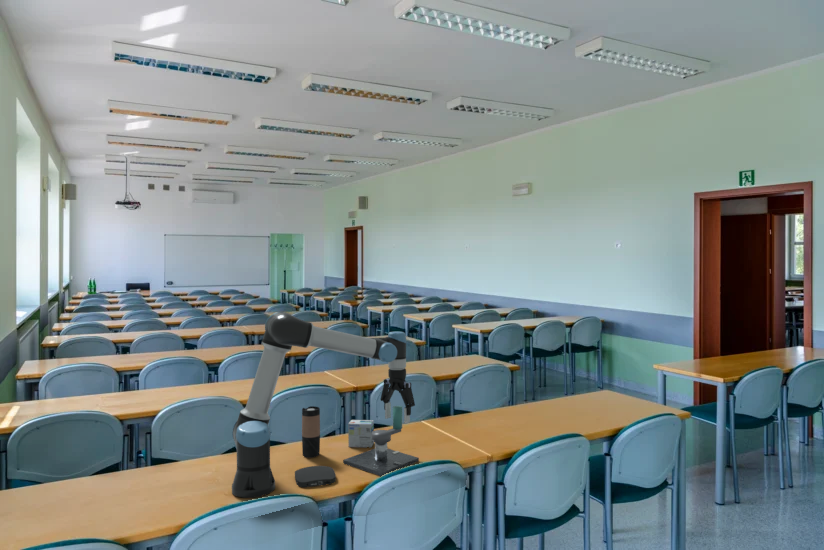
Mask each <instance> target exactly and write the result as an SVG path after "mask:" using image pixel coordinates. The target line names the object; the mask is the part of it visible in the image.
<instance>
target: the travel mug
mask: <svg viewBox="0 0 824 550" xmlns="http://www.w3.org/2000/svg"><path fill="white" fill-rule="evenodd" d="M320 410H321V409H320V407H319V406H314V405H313V406H310V405H309V406H308V407H302V409H301V441H302V442H301V445H302V448H301V449H302V457H303V456H304V458H306V459H311V458H316V457H317V458H318V457H319V456H320V454H321V453H320V450H321V449H320V448H321V446H320V445H321V411H320Z"/></svg>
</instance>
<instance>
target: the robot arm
mask: <svg viewBox="0 0 824 550" xmlns="http://www.w3.org/2000/svg"><path fill="white" fill-rule="evenodd" d="M387 335H388V336H384V337H365V336H361V335H356V334H351V333H347V332H343V331H339V330H333V329H329V328H324V327H320V326H315V325H314V324H313V323H312V322H310V321H305V320H302V319H300V318H298V317H296V316H294V315H293V314H291V313H288V312H287V311H277V312H274V313H273V314H271V315H270V316H269V317H268V318H267V319H266V321H265V324H264V333H263V336H262V340H261V344H262V345H263V351H262V354H261V356H260V357H261V358H260V360H259V363H258V367H257V369H256V373H255V377H254V380H253V383H252V386H251V390H250V393H249V395H248V398H247V402H246V406H245V407H244V408H242V409H241V410H239V411H240V412H239V414H238V417H237V420H236V421H235V422H234V424H233V427H232V432H231V433H232V439H233V441H234V445H235V448H236V472H235V474H234V478H233V481H232V484H231V493H232V495H233V496H235V497H238V498H243V499H247V498H248V499H251V498H258V497H259V498H260V497H263V496H262V495H264V496H266V495H268V494H270V492H271V493H273V492H274V491H275V489H276V480H275V477H274V474H273V471H272V468H271V430H270V429H271V428H270V426H269V423H270V420H271V416H270V415H269V413H268V412H269V409H270V406H271V402H272V400H273V397H274V393H275V390H276V387H277V383H278V381H279V377H280V373H281V370H282V368H283V363H284V361H285V358H286V357H285V356H286V354H287V353H288V352H291V350H292V348H293V347H299V348H304V349H307V348H308V347H313V348H318V349H324V350H327V351H328V350H329V351H332V352H338V353H343V354H348V355H354V356H359V357H362V358H368V359H369V358H370V359H374V360H379V361H381V362H383V363H388V378H385V379H383V387H382V391H381V395H380V401H381V402H383V407H384V408H383V409H384V411H385V412H384V415H385V416H384V419H386V420H387V419H390V418H391V419H392V417H391V415H392V411H391V410H392V409H391V406H392V404H391V403H392V402H391V399H392V397H393V395H394V392H395V391H397V392H398V393H399V394H400V396H401V398H402V401H403V403H404V406H405V407H404V408H403V411H404V413H403V417H404V418H403V421H404V423H403V424H408V423H410V422H411V414H412V407H415V406H416V404H415V398H414V394H413V390H412V382H411V381H410V382H407V381H406V377H407V335H406V333H405V332H404V331H389V332H388V334H387ZM265 494H266V495H265Z"/></svg>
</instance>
